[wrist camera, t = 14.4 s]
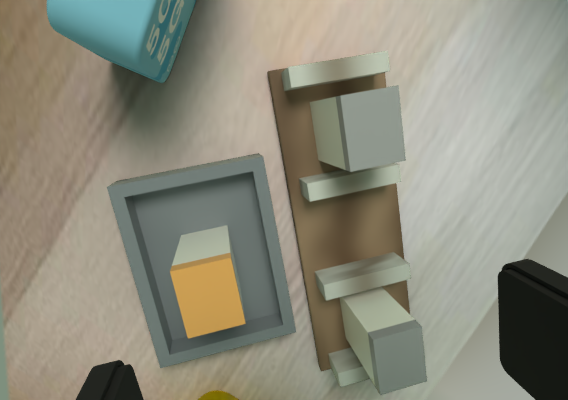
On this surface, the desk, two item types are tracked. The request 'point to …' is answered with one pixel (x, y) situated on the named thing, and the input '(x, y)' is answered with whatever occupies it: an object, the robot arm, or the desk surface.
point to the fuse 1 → (359, 129)
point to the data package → (126, 30)
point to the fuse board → (338, 207)
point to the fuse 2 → (384, 339)
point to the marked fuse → (207, 282)
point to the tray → (197, 217)
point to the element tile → (217, 396)
